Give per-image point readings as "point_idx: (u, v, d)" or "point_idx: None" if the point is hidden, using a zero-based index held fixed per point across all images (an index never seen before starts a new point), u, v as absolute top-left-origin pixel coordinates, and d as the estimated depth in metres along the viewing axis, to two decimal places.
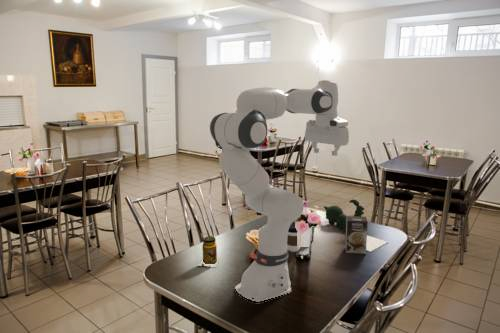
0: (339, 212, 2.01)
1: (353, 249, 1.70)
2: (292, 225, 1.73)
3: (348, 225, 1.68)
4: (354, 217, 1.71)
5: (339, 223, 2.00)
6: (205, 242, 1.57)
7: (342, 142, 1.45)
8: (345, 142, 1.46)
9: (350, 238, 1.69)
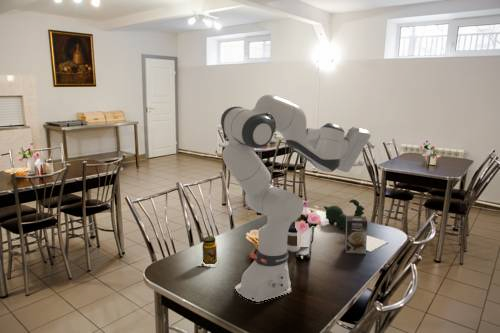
0: (339, 212, 2.01)
1: (353, 249, 1.70)
2: (292, 225, 1.73)
3: (348, 225, 1.68)
4: (354, 217, 1.71)
5: (339, 223, 2.00)
6: (205, 242, 1.57)
7: None
8: None
9: (350, 238, 1.69)
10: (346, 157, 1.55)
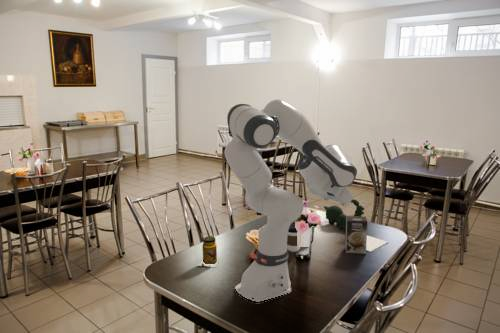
0: (339, 212, 2.01)
1: (353, 249, 1.70)
2: (292, 225, 1.73)
3: (348, 225, 1.68)
4: (354, 217, 1.71)
5: (339, 223, 2.00)
6: (205, 242, 1.57)
7: (347, 203, 1.46)
8: (350, 201, 1.46)
9: (350, 238, 1.69)
10: None
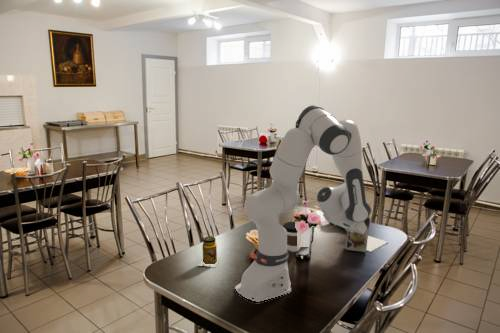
0: None
1: (354, 246, 1.70)
2: (292, 225, 1.73)
3: None
4: None
5: None
6: (205, 242, 1.57)
7: (361, 233, 1.57)
8: (364, 231, 1.57)
9: (351, 235, 1.70)
10: None
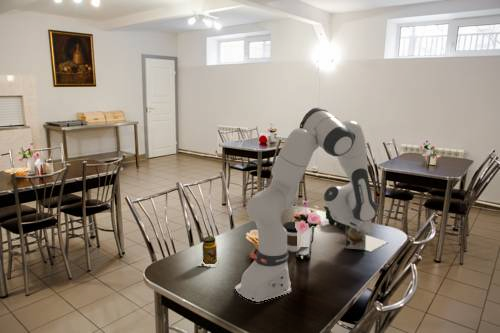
0: None
1: (353, 244, 1.71)
2: (292, 225, 1.73)
3: None
4: None
5: (339, 223, 2.00)
6: (205, 242, 1.57)
7: (368, 232, 1.59)
8: (370, 230, 1.59)
9: (349, 233, 1.72)
10: None
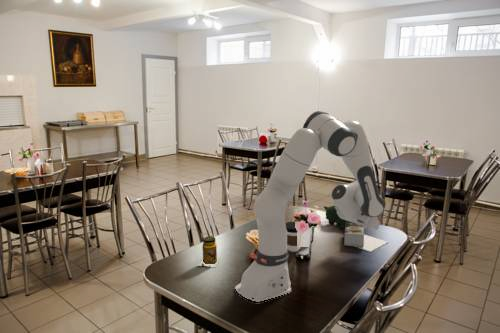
0: None
1: (352, 232, 1.78)
2: (292, 225, 1.73)
3: (346, 223, 1.90)
4: None
5: (339, 223, 2.00)
6: (205, 242, 1.57)
7: (375, 229, 1.62)
8: (377, 227, 1.62)
9: (348, 228, 1.83)
10: None
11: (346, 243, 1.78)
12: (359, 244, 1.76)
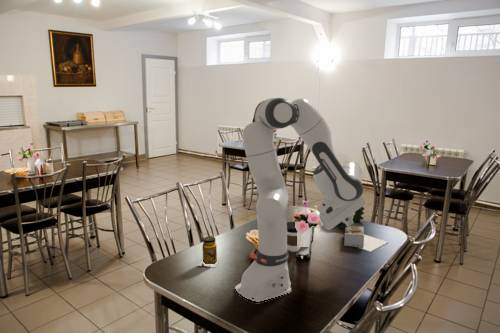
0: None
1: (352, 232, 1.78)
2: (292, 225, 1.73)
3: None
4: None
5: (339, 223, 2.00)
6: (205, 242, 1.57)
7: None
8: None
9: (348, 228, 1.83)
10: (337, 213, 1.51)
11: (346, 243, 1.78)
12: (359, 244, 1.76)
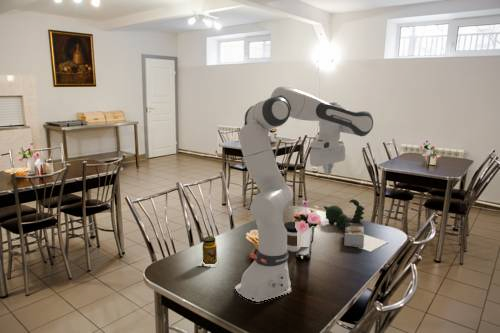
0: (339, 212, 2.01)
1: (352, 232, 1.78)
2: (292, 225, 1.73)
3: (346, 223, 1.90)
4: None
5: (339, 223, 2.00)
6: (205, 242, 1.57)
7: None
8: (312, 163, 1.51)
9: (348, 228, 1.83)
10: (326, 154, 1.53)
11: (346, 243, 1.78)
12: (359, 244, 1.76)
